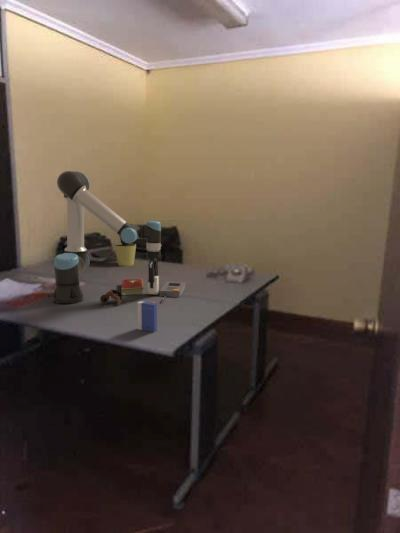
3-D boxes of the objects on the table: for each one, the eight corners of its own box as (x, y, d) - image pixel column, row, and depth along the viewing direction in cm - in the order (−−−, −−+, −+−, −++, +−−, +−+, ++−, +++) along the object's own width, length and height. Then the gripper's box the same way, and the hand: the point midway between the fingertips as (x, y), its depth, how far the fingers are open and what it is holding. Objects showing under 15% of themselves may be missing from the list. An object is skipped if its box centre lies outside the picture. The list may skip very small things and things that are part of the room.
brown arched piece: (109, 301, 203) (117, 288, 201) (120, 312, 199) (128, 299, 197) (92, 300, 193) (100, 287, 191) (103, 312, 188) (112, 298, 187)
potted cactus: (122, 267, 278) (121, 225, 272) (111, 264, 290) (110, 223, 283) (140, 265, 288) (140, 224, 282) (129, 261, 299) (128, 222, 293)
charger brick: (156, 294, 211) (156, 278, 209) (147, 293, 211) (147, 277, 210) (158, 291, 216) (159, 275, 214) (149, 291, 216) (149, 275, 214)
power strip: (175, 303, 198) (175, 297, 197) (154, 302, 199) (154, 296, 199) (185, 287, 230) (185, 281, 229) (166, 286, 231) (166, 280, 230)
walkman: (157, 329, 163) (157, 302, 161) (154, 332, 161) (153, 304, 158) (140, 327, 166) (140, 300, 164) (137, 329, 164) (136, 301, 161)
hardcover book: (120, 295, 212) (120, 288, 212) (122, 285, 233) (122, 278, 232) (143, 295, 214) (143, 287, 213) (142, 285, 235) (142, 278, 234)
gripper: (156, 253, 199) (156, 297, 204) (163, 247, 217) (163, 288, 222) (142, 252, 200) (142, 296, 205) (150, 247, 218) (150, 287, 223)
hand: (153, 292), depth 214 cm, fingers closed on charger brick, 5 cm apart
